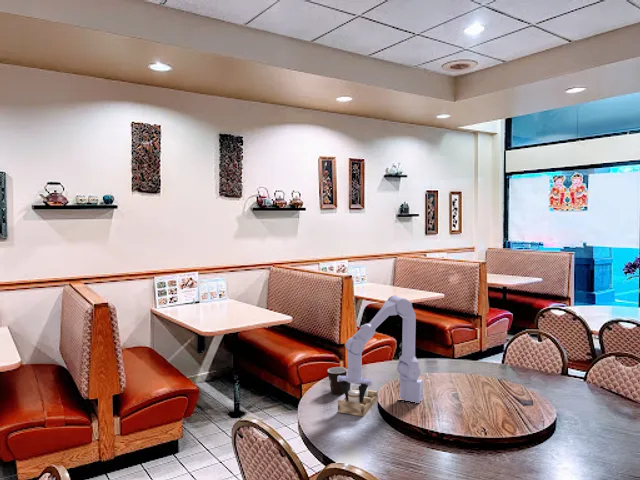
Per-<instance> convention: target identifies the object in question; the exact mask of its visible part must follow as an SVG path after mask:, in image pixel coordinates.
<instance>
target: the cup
mask: <svg viewBox="0 0 640 480" xmlns="http://www.w3.org/2000/svg"><path fill="white" fill-rule="evenodd" d="M348 402H352V403H358V404H361V403H360V393H359V390H353V389H350V391H348Z"/></svg>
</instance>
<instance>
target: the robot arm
mask: <svg viewBox="0 0 640 480" xmlns="http://www.w3.org/2000/svg"><path fill="white" fill-rule="evenodd" d="M397 315H399V316H400V317H401V318H402V330H401V331H402V334H401V336H402V338H401V339H402V340H401V341H402V342H401V345H402V346H401V355H400V356H399V359H398V363H397V366H396V370H397V373H399V396H400V398H401V399H403V400H406V401H412V402H413V401H415V403H414V404H416V403H419V404H420V403H421V402H422V400H423V399H424V381H423V380H422V379H419V378H420V375H421V369H420V367H419V365H420V364H419V361H418V359H417V356H416V333H417V332H416V330H417V328H416V326H417V324H416V323H417V321H416V320H417V315H416V312H415V310H414V307H413V303H412V302H411V301H410V300H408V299H407V298H403V297H400V296H397V295H391V296H389V297H388V298H387V300H385V301H384V302H383V305H382V307H381V308H380V309H379V310H378V311H377V313H376V314H375V316H374V317H373V318H372V319H370V321H369V322H368V323H364V324H362V325H360V328H359V330H358V331H357V332H356V333H355V334H352V337H350V338H347V340H346V343H345V344H344V346H345V349H346V350H347V356H346V357H347V375H346V376H340V375H339V376H338V377H337V381H338V382H340V381H342V384H341V387H342V388H343V390H344V395H345V396H346V400H347V401H348V391H350V390H351V384H355V385H359V393H360V403H362V402H363V399H364V395H365V392H366V389H367V388H368V387H372V386H373V380H372V379H368V378H365V377H363V376H362V375H363V372H362V371H363V369H362V365H363V363H362V361H363V360H362V358H363V357H362V354H363V352H364V351H365V346H366V344H367V343H368V342H369V341H370V340H371V339H372V338H373V337H374V336H375V334H376V329H377V328H378V327H379V326H380V325H381V324H382V323H383V322H384V321H386V319H388V317H389V316H397ZM420 401H421V402H420Z"/></svg>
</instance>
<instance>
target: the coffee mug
mask: <svg viewBox="0 0 640 480" xmlns="http://www.w3.org/2000/svg"><path fill="white" fill-rule="evenodd" d="M327 375H328V381H329V388H330V393H331V394H332V395H334V396H335V395H336V396H339V395H343V394H344V395H345V393H344V390H343V388H342V387H341V384H342V381H340V382H338V381H337V377H338V376H339V375H340V376H347V375H348V368H346V367H344V366H343V367H342V366H335V367H329V368H327Z"/></svg>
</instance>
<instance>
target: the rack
mask: <svg viewBox="0 0 640 480" xmlns="http://www.w3.org/2000/svg"><path fill="white" fill-rule="evenodd" d="M359 386H360V385H359ZM359 386H356V387H353V388H352V390H359ZM378 394H379V393H378V391H376V390H370V389H369V388H368V387H367V389H366V392H365V395H364V399H363V402H362V403H361V404H358V403H352V402H348V401H347V400H346V396H345V398H344V399H342V400H340V399H338V400H337V413H342V414H345V415H346V414H347V415H353V416H356V417H358V416H359V417H365V416H366V414H367V413H368V412H369V411H370V410H371V409H372V407H374V405H375V404H376V403H377V402H378V401H377V399H379V398H378Z"/></svg>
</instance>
